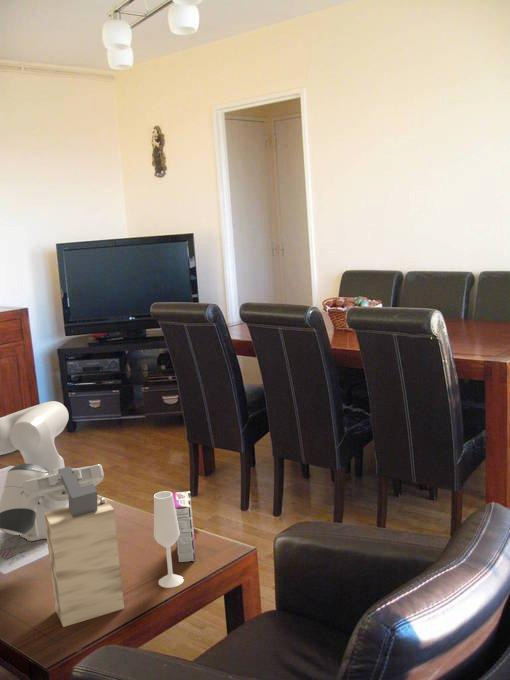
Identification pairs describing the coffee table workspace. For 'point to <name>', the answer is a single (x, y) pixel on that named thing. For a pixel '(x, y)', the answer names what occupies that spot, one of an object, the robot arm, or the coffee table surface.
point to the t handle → (78, 494)
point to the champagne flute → (166, 533)
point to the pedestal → (84, 563)
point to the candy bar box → (184, 527)
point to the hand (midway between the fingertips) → (67, 474)
